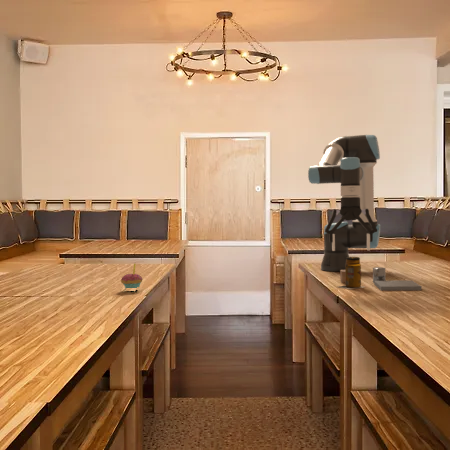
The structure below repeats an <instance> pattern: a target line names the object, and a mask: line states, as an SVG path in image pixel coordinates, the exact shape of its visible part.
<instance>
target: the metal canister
mask: <svg viewBox="0 0 450 450" xmlns="http://www.w3.org/2000/svg"><path fill="white" fill-rule="evenodd" d="M374 281H387V280H386V267H381V266H379V267H378V266H377V267H376V266H375V267H372V283H373V284H374Z"/></svg>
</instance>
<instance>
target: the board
mask: <svg viewBox="0 0 450 450" xmlns="http://www.w3.org/2000/svg"><path fill="white" fill-rule="evenodd" d="M373 285H374V286H376V288H378V290H380V291H383V290H384V291H422V289H423V286H422V285H420V284H419V283H417V282H415V281H414V280H413V279H412V280H411V279H409V280H407V279H406V280H398V279H397V280H386V281H374V283H373Z"/></svg>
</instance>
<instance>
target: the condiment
mask: <svg viewBox="0 0 450 450" xmlns="http://www.w3.org/2000/svg"><path fill="white" fill-rule="evenodd" d="M345 282H346V283H344V284H345V285H338V286H337V288H341V289H347V290H354V289H356V290H357V289H363V288H365V286H363V285H362V264H361V258H360V256H349V257H347V258H346V264H345Z"/></svg>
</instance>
